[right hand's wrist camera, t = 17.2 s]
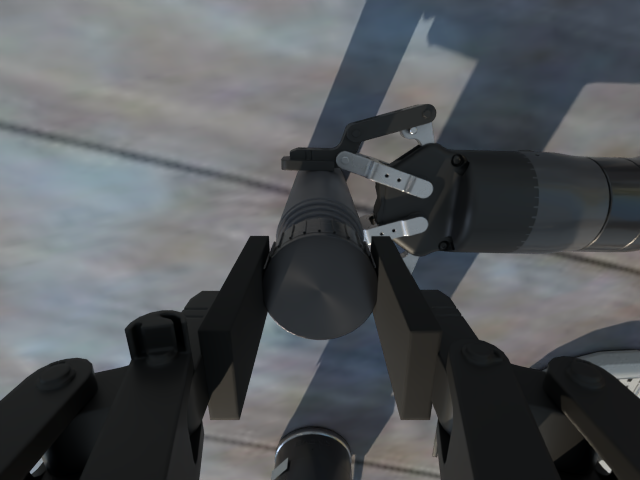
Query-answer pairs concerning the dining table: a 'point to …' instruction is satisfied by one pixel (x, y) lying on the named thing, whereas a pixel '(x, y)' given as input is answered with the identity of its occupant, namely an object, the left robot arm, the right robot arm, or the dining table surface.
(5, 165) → the dining table surface
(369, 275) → the cap
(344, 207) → the bottle
